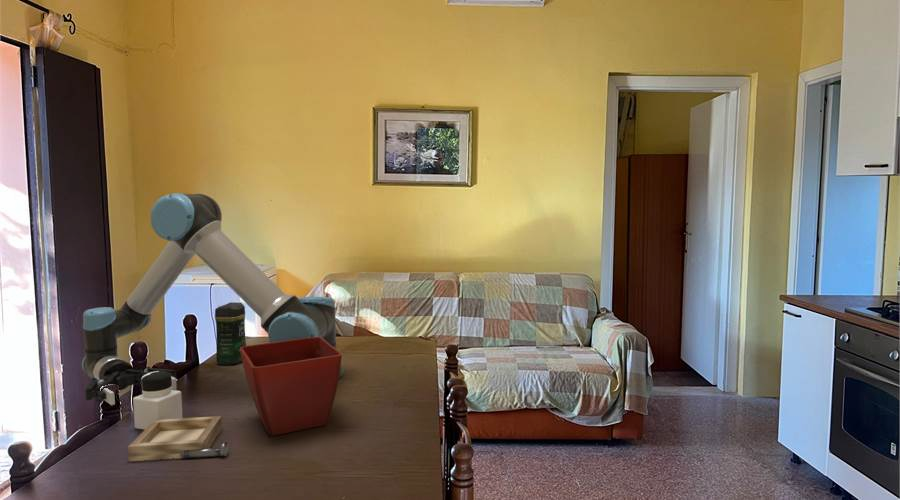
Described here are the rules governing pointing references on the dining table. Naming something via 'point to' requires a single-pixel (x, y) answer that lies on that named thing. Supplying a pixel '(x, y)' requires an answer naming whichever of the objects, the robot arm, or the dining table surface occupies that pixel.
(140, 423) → the medicine bottle
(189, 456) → the pin
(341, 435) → the dining table surface
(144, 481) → the dining table surface
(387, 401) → the dining table surface
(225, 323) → the coffee jar
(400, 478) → the dining table surface
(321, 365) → the plant pot
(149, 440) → the wooden tray
